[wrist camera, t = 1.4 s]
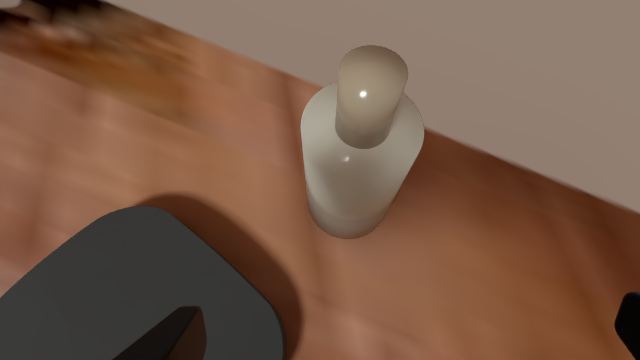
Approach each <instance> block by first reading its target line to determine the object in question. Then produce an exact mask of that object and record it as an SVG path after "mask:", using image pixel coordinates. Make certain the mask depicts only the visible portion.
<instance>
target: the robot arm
mask: <svg viewBox="0 0 640 360" xmlns="http://www.w3.org/2000/svg"><path fill="white" fill-rule="evenodd" d="M614 324H615V330H616V332H617V334H618V336H619V337H620V339H621V340H622V342H623V343H624V344H625V346H626V347H627V348H628V350H629V351H630V353H631V354H632V355H633V357H634V358H635V359H636V360H640V292H630V293H627V294H626V295H625V296H624V297H623V300H622V302H621V305H620V308H619V311H618V314H617V316H616V319H615V323H614ZM206 345H207V334H206V329H205V323H204V318H203V312H202V309H201V307H199V306H181V307H179V308H177V309H176V310H175V311H173V312H172V313H171V314H169V315H168V316H167V317H166V318H164V319H163V320H162V321H160V322H159V323H158V324H157V325H155V326H154V327H153V328H152V329H150V330H149V331H148V332H146V333H145V334H144V335H143V336H141V337H140V338H139V339H138V340H136V341H135V342H134V343H132V344H131V345H130V346H129V347H127V348H126V349H125V350H123V351H122V352H121V353H120V354H118V355H117V356H116V357H115V358H113V359H112V360H203V359H204V355H205V350H206Z"/></svg>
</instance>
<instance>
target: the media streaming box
mask: <svg viewBox="0 0 640 360" xmlns="http://www.w3.org/2000/svg"><path fill="white" fill-rule="evenodd" d="M181 306H199V307H201V309H202V312H203V318H204V323H205V329H206V334H207V345H206V350H205V355H204V359H203V360H285V358H286V338H285V332H284V328H283V324H282V322H281V319H280V317H279V315H278V313H277V311H276V309H275V308H274V306H273V305H272V304H271V303H270V302H269V301H268V300H267V299H266V298H265V297H264V296H263V295H262V294H261V293H260V292H259V291H258V290H257V289H256V288H255V287H254V286H253V285H252V284H251V283H250V282H249V281H248V280H247V279H246V278H245V277H244V276H243V275H242V274H241V273H240V272H238V271H237V270H236V269H235V268H234V267H233V266H232V265H231V264H230V263H229V262H228V261H227V260H225V259H224V258H223V257H222V256H221V255H220V254H219V253H218V252H216V251H215V250H214V249H213V248H212V247H211V246H209V245H208V244H207V243H206V242H205V241H204V240H202V239H201V238H200V237H199V236H197V235H196V234H195V233H194V232H192V231H191V230H190V229H189V228H187V227H186V226H185V225H184V224H182V223H181V222H180V221H178V220H177V219H176V218H175V217H173V216H172V215H171V214H169V213H168V212H167V211H165V210H163V209H159V208H156V207H150V206H135V207H128V208H124V209H120V210H117V211H114V212H111V213H109V214H107V215H104V216H102V217H100V218H98V219H97V220H96V221H94V222H93V223H91V224H90V225H88V226H87V227H85V228H84V229H83V230H81V231H80V232H78V233H77V234H76V235H74V236H73V237H72V238H70V239H69V240H68V241H66V242H65V243H64V244H62V245H61V246H60V247H58V248H57V249H56V250H55V251H53V252H52V253H51V254H50V255H48V256H47V257H46V258H45V259H43V260H42V261H41V262H40V263H39V264H37V265H36V266H35V267H34V268H33V269H32V270H30V271H29V272H28V273H27V274H26V275H25V276H23V277H22V278H21V279H20V280H19V281H18V282H17V283H16V284H15V285H14V286H12V287H11V288H10V289H9V290H8V291H7V292H6V293H5V294H4V295H3V296H2V297H1V298H0V360H112V359H113V358H115V357H116V356H117V355H118V354H120V353H121V352H122V351H123V350H125V349H126V348H127V347H129V346H130V345H131V344H132V343H134V342H135V341H136V340H138V339H139V338H140V337H141V336H143V335H144V334H145V333H146V332H148V331H149V330H150V329H152V328H153V327H154V326H155V325H157V324H158V323H159V322H160V321H162V320H163V319H164V318H166V317H167V316H168V315H169V314H171V313H172V312H173V311H175V310H176V309H177V308H179V307H181Z"/></svg>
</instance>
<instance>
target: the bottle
mask: <svg viewBox="0 0 640 360" xmlns="http://www.w3.org/2000/svg"><path fill="white" fill-rule="evenodd" d="M407 78H408V68H407V66H406V64H405V62H404V60H403V59H402V58H401V57H400V56H399V55H398V54H397V53H395V52H394V51H392V50H390V49H387V48H385V47H381V46H374V45H373V46H372V45H371V46H370V45H369V46H362V47H358V48H355V49H353V50H351V51H350V52H348V53H347V54H346V55H345V56H344V57H343V58H342V60H341V62H340V65H339V75H338V81H337V82H334V83H332V84H330V85H328V86H326V87H324V88H323V89H321V90H320V91H319V92H317V93H316V94H315V95H314V96H313V97H312V98H311V100H310V101H309V102H308V104H307V105H306V107H305V109H304V112H303V115H302V119H301V137H302V147H303V157H304V168H305V178H306V188H307V199H308V207H309V211H310V214H311V217H312V218H313V220H314V222H315V223H316V224H317V225H318V226H319V227H320V228H321V229H322V230H323V231H324V232H326V233H328V234H330V235H332V236H334V237H337V238H342V239H354V238H359V237H363V236H365V235H367V234H369V233H370V232H372V231H373V230H374V229H375V228H376V227H377V226H378V225H379V224H380V222H381V221H382V219H383V217H384V216H385V214H386V212H387V210H388V208H389V206H390V205H391V203H392V201H393V199H394V197H395V196H396V194H397V192H398V190H399V188H400V187H401V185H402V183H403V181H404V179H405V177H406V176H407V174H408V172H409V170H410V168H411V167H412V165H413V163H414V161H415V159H416V158H417V156H418V154H419V152H420V150H421V147H422V144H423V140H424V125H423V120H422V117H421V115H420V113H419V111H418V109H417V107H416V106H415V105H414V103H413V102H412V101H411V100H410V98H408V96H406V95H405V94H404V93H403V90H404V87H405V84H406V81H407Z"/></svg>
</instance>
